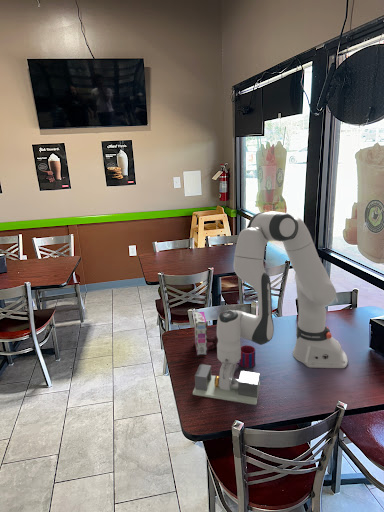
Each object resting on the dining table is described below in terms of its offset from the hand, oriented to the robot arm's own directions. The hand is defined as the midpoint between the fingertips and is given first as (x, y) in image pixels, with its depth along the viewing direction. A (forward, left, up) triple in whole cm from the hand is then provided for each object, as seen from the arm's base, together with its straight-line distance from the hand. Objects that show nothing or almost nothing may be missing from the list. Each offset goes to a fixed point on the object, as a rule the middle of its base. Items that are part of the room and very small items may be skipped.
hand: (229, 384), depth 137 cm
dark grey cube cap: (-8, 0, -1) cm, 8 cm away
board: (+1, 0, -2) cm, 3 cm away
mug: (-3, -18, -3) cm, 18 cm away
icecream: (+10, -30, -3) cm, 32 cm away
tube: (-2, 0, -1) cm, 2 cm away
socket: (+10, 0, -1) cm, 10 cm away
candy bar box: (+18, -26, -3) cm, 32 cm away
